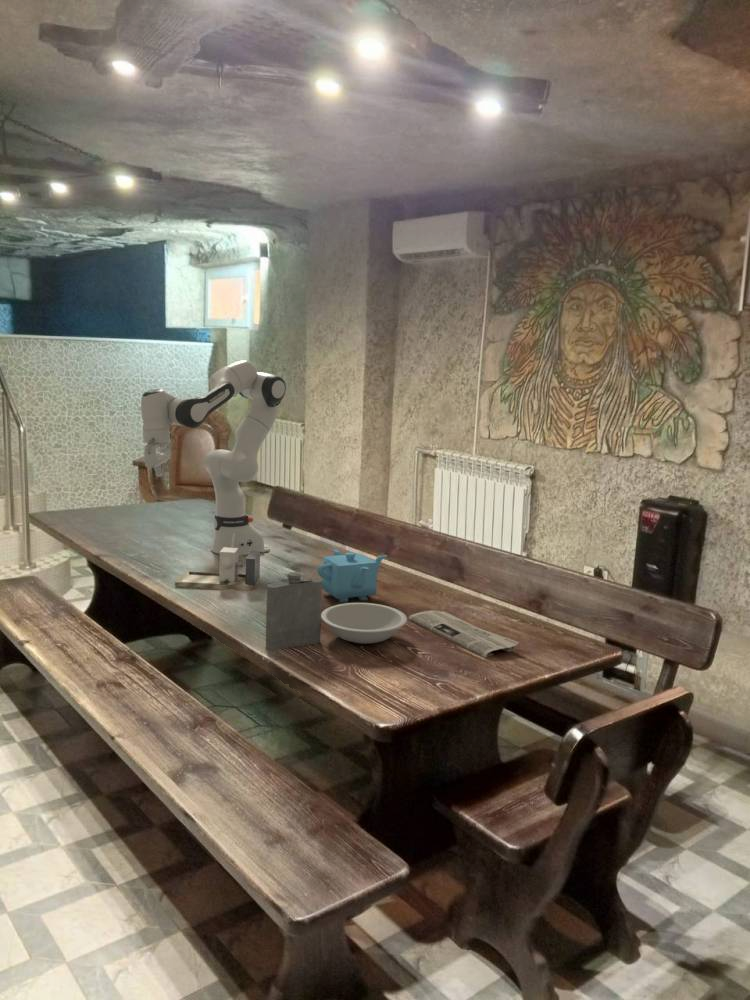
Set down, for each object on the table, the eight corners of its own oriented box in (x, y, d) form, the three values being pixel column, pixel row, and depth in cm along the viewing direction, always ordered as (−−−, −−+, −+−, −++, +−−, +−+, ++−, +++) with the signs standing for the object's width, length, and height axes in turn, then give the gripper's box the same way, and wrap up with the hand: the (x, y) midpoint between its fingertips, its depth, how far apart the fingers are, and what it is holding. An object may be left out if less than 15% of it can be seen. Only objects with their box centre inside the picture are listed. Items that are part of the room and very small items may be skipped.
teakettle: (312, 601, 249) (313, 556, 246) (332, 585, 266) (334, 543, 264) (368, 609, 243) (370, 563, 241) (385, 592, 261) (387, 549, 258)
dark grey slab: (245, 585, 257) (245, 558, 255) (250, 576, 267) (251, 550, 265) (254, 585, 257) (254, 559, 255) (259, 576, 267) (260, 551, 265)
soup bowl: (410, 655, 208) (412, 632, 207) (320, 654, 206) (321, 630, 204) (400, 624, 231) (402, 603, 230) (319, 623, 229) (320, 601, 228)
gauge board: (175, 586, 256) (175, 579, 256) (184, 576, 268) (184, 569, 268) (253, 590, 256) (253, 584, 256) (260, 580, 268) (260, 573, 267)
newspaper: (408, 621, 235) (409, 610, 235) (440, 615, 243) (440, 604, 242) (489, 661, 207) (490, 649, 207) (522, 653, 214) (523, 641, 214)
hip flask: (268, 651, 206) (270, 578, 202) (262, 646, 209) (263, 574, 205) (322, 642, 214) (324, 572, 210) (315, 637, 217) (317, 568, 214)
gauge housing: (217, 583, 256) (217, 553, 254) (223, 575, 265) (223, 547, 263) (238, 584, 256) (239, 554, 254) (243, 576, 265) (244, 548, 263)
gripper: (157, 440, 260) (160, 481, 263) (173, 433, 280) (176, 471, 283) (138, 441, 260) (141, 481, 263) (155, 433, 280) (158, 471, 283)
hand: (159, 476), depth 273 cm, fingers closed
